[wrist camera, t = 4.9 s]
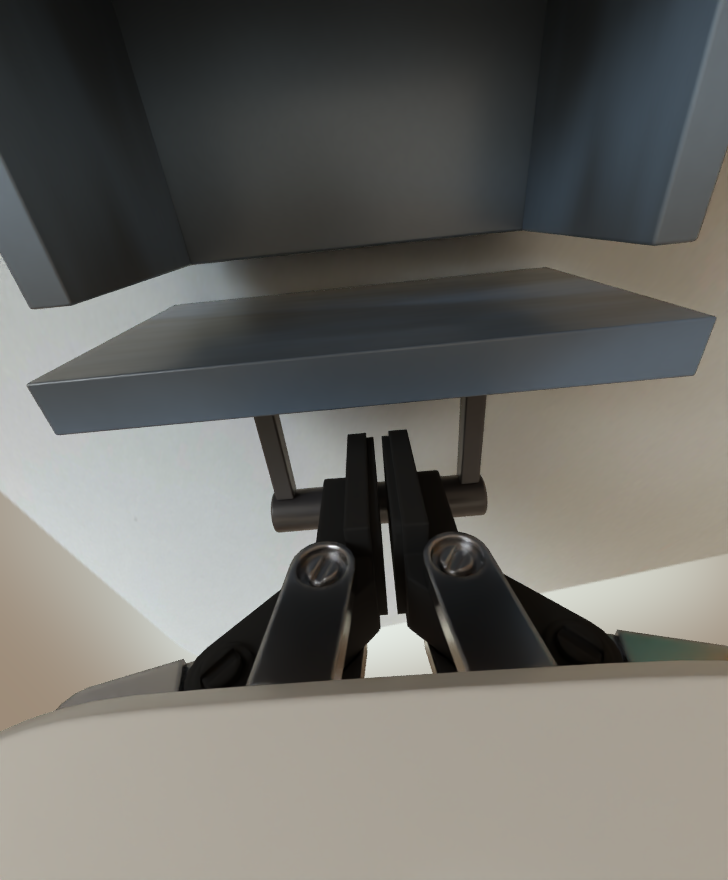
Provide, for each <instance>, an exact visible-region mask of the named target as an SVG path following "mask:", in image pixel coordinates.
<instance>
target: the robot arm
mask: <svg viewBox="0 0 728 880" xmlns="http://www.w3.org/2000/svg"><path fill="white" fill-rule="evenodd" d="M388 435H389V436H382V448H383V461H384V474H385V487H386V501H387V513H388V523H389V533H390V543H391V552H392V562H393V572H394V581H395V591H396V601H397V611H398V614H404V613H406V618H407V625H408V627H409V628H410V629H411V630H412V631H414V632H415V633H416V634H417V635H419V636H420V637H421V638H423V639H424V643H425V649H426V653H427V656H428V659H429V663H430V666H431V669H432V672H433V674H422V675H406V676H392V677H376V678H364V676H365V667H366V659H367V643H368V642H369V641H370V640H371V639H372V638H373V637H374V636H375V634H376V633H377V632H378V631H379V629H380V615H388V609H387V596H386V583H385V571H384V558H383V545H382V532H381V519H380V507H379V496H378V484H377V473H376V462H375V451H374V439H373V437H369V438H366V433H359V434H348V437H347V459H346V478H335V479H325V480H324V484H323V492H322V500H321V508H320V516H319V524H318V532H317V540H316V543H314V544H311V545H309V546H307V547H305V548H304V549H302V550H301V551H300V552H299V553H298V554H297V555H296V556H295V557H294V559H293V560H292V562H291V564H290V567H289V569H288V572H287V575H286V577H285V580H284V583H283V586H282V588H281V590H280V591H278V592H277V593H276V594H275V595H273V596H272V597H271V598H269V599H268V600H267V601H266V602H264V603H263V604H262V605H261V606H259V607H258V608H257V609H256V610H254V611H253V612H252V613H251V614H249V615H248V616H247V617H246V618H244V619H243V620H242V621H240V622H239V623H238V624H237V625H235V626H234V627H233V628H232V629H230V630H229V631H228V632H227V633H225V634H224V635H223V636H222V637H220V638H219V639H218V640H216V641H215V642H214V643H213V644H211V645H210V646H209V647H208V648H206V649H205V650H204V651H203V652H202V653H201V654H200V655H199V656H198V657H197V658H196V660H195V661H193V662H190V663H186V662H185V661H184V659H182V660H178V661H175V662H172V663H169V664H165V665H162V666H158V667H155V668H152V669H148V670H145V671H142V672H138V673H135V674H132V675H129V676H125V677H122V678H118V679H115V680H112V681H108V682H105V683H101V684H98V685H95V686H91V687H89V688H86V689H84V690H82V691H80V692H78V693H75V694H74V695H73V696H71V697H70V698H69V699H67V700H66V701H65V702H63V703H62V704H61V705H60V706H59V707H58V708H57V709H56V710H55V711H53V712H50V713H47V714H43V715H40V716H37V717H34V718H32V719H29V720H26V721H23V722H21V723H19V724H17V725H14V726H12V727H10V728H7V729H5V730H3V731H1V732H0V880H728V646H724V645H717V644H710V643H704V642H697V641H690V640H683V639H677V638H669V637H663V636H656V635H649V634H642V633H635V632H629V631H622V630H617V631H616V634H615V635H613V634H606V633H605V632H604V631H603V630H602V629H600V628H599V627H597V626H596V625H594V624H593V623H591V622H590V621H588V620H586V619H584V618H583V617H581V616H579V615H577V614H575V613H573V612H572V611H570V610H568V609H566V608H564V607H562V606H561V605H559V604H557V603H555V602H554V601H552V600H550V599H548V598H546V597H544V596H543V595H541V594H539V593H537V592H535V591H534V590H532V589H530V588H528V587H526V586H525V585H523V584H521V583H519V582H517V581H515V580H514V579H512V578H510V577H508V576H506V575H505V574H503V573H502V571H501V569H500V568H499V566H498V564H497V563H496V561H495V559H494V558H493V556H492V554H491V553H490V551H489V549H488V548H487V547H486V546H485V544H484V543H483V542H482V541H480V540H479V539H477V538H476V537H474V536H472V535H469V534H467V533H462V532H458V531H457V527H456V524H455V521H454V518H453V515H452V512H451V509H450V506H449V503H448V499H447V496H446V493H445V490H444V487H443V484H442V481H441V478H440V475H439V472H438V471H437V470H433V471H421V472H417V471H416V466H415V462H414V458H413V454H412V449H411V445H410V441H409V437H408V432H407V430H395V431H388Z"/></svg>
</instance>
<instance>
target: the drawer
mask: <svg viewBox="0 0 728 880" xmlns="http://www.w3.org/2000/svg"><path fill="white" fill-rule="evenodd" d="M727 148H728V0H0V253H1V255H2V257H3V259H4V261H5V263H6V264H7V266H8V268H9V270H10V272H11V274H12V276H13V278H14V279H15V281H16V283H17V285H18V287H19V289H20V291H21V292H22V294H23V296H24V298H25V300H26V302H27V304H28V306H29V307H30V308H31V309H43V308H53V307H62V306H72V305H75V304H78V303H81V302H83V301H86V300H89V299H92V298H95V297H98V296H101V295H104V294H107V293H110V292H113V291H116V290H119V289H122V288H125V287H128V286H131V285H134V284H137V283H140V282H143V281H146V280H148V279H151V278H154V277H157V276H160V275H163V274H166V273H169V272H172V271H175V270H178V269H181V268H184V267H187V266H190V265H196V264H205V263H215V262H224V261H234V260H244V259H253V258H263V257H272V256H282V255H291V254H301V253H311V252H320V251H330V250H339V249H349V248H359V247H368V246H378V245H387V244H397V243H407V242H416V241H426V240H435V239H445V238H455V237H464V236H474V235H483V234H493V233H503V232H512V231H522V230H524V231H531V232H540V233H548V234H557V235H565V236H574V237H583V238H591V239H600V240H608V241H617V242H625V243H634V244H642V245H651V246H657V245H666V244H676V243H686V242H692V241H695V240H696V239H697V238H698V236H699V233H700V230H701V227H702V224H703V221H704V218H705V215H706V212H707V209H708V205H709V202H710V199H711V196H712V193H713V190H714V187H715V184H716V181H717V178H718V175H719V172H720V169H721V166H722V163H723V160H724V157H725V154H726V151H727ZM715 322H716V317H715V316H712V315H708V314H705V313H702V312H698V311H695V310H691V309H688V308H684V307H681V306H678V305H674V304H671V303H667V302H664V301H660V300H657V299H654V298H650V297H647V296H643V295H640V294H636V293H633V292H630V291H626V290H623V289H619V288H616V287H612V286H609V285H605V284H602V283H599V282H595V281H592V280H588V279H585V278H581V277H578V276H575V275H571V274H568V273H564V272H561V271H557V270H554V269H551V268H547V267H543V268H534V269H524V270H514V271H504V272H494V273H485V274H475V275H465V276H455V277H445V278H435V279H426V280H416V281H406V282H396V283H386V284H376V285H367V286H357V287H347V288H337V289H327V290H317V291H308V292H298V293H288V294H278V295H268V296H258V297H249V298H239V299H229V300H219V301H209V302H199V303H190V304H180V305H174V306H172V307H170V308H168V309H167V310H165V311H163V312H161V313H159V314H157V315H155V316H153V317H152V318H150V319H148V320H146V321H144V322H142V323H140V324H138V325H136V326H135V327H133V328H131V329H129V330H127V331H125V332H123V333H121V334H120V335H118V336H116V337H114V338H112V339H110V340H108V341H106V342H105V343H103V344H101V345H99V346H97V347H95V348H93V349H91V350H90V351H88V352H86V353H84V354H82V355H80V356H78V357H76V358H75V359H73V360H71V361H69V362H67V363H65V364H63V365H61V366H60V367H58V368H56V369H54V370H52V371H50V372H48V373H46V374H45V375H43V376H41V377H39V378H37V379H35V380H33V381H31V382H30V383H28V384H27V387H28V389H29V391H30V392H31V394H32V396H33V397H34V399H35V401H36V402H37V404H38V406H39V407H40V409H41V411H42V412H43V414H44V416H45V417H46V419H47V421H48V422H49V424H50V426H51V427H52V429H53V431H54V432H55V434H56V435H66V434H76V433H87V432H98V431H108V430H119V429H130V428H140V427H151V426H162V425H172V424H183V423H193V422H204V421H215V420H225V419H236V418H247V417H254V420H255V423H256V427H257V431H258V434H259V438H260V441H261V445H262V449H263V452H264V456H265V459H266V463H267V467H268V470H269V474H270V478H271V481H272V485H273V488H274V494H273V497H272V502H271V517H272V523H273V526H274V529H275V531H276V532H291V531H302V530H314V529H318V524H319V516H320V508H321V500H322V492H323V487H316V488H304V489H296V485H295V481H294V477H293V472H292V468H291V464H290V460H289V455H288V451H287V447H286V443H285V438H284V434H283V430H282V426H281V421H280V417H279V414H289V413H300V412H311V411H321V410H332V409H343V408H353V407H364V406H375V405H385V404H396V403H406V402H417V401H428V400H438V399H449V398H460V397H461V399H460V420H459V441H458V462H457V475H451V476H440V478H441V481H442V484H443V487H444V490H445V493H446V496H447V499H448V503H449V506H450V509H451V512H452V515H453V517H465V516H476V515H483V514H485V513H486V510H487V492H486V487H485V483H484V480H483V478H482V476H481V475H480V465H481V454H482V442H483V431H484V419H485V408H486V396H487V395H492V394H502V393H513V392H524V391H534V390H545V389H556V388H566V387H577V386H588V385H598V384H609V383H619V382H630V381H641V380H651V379H662V378H673V377H683V376H693V375H695V373H696V370H697V368H698V365H699V363H700V360H701V358H702V355H703V353H704V350H705V347H706V345H707V342H708V340H709V337H710V335H711V332H712V330H713V327H714V324H715ZM377 484H378V496H379V507H380V519H381V524H383V523H388V513H387V501H386V487H385V481H383V482H377Z"/></svg>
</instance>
